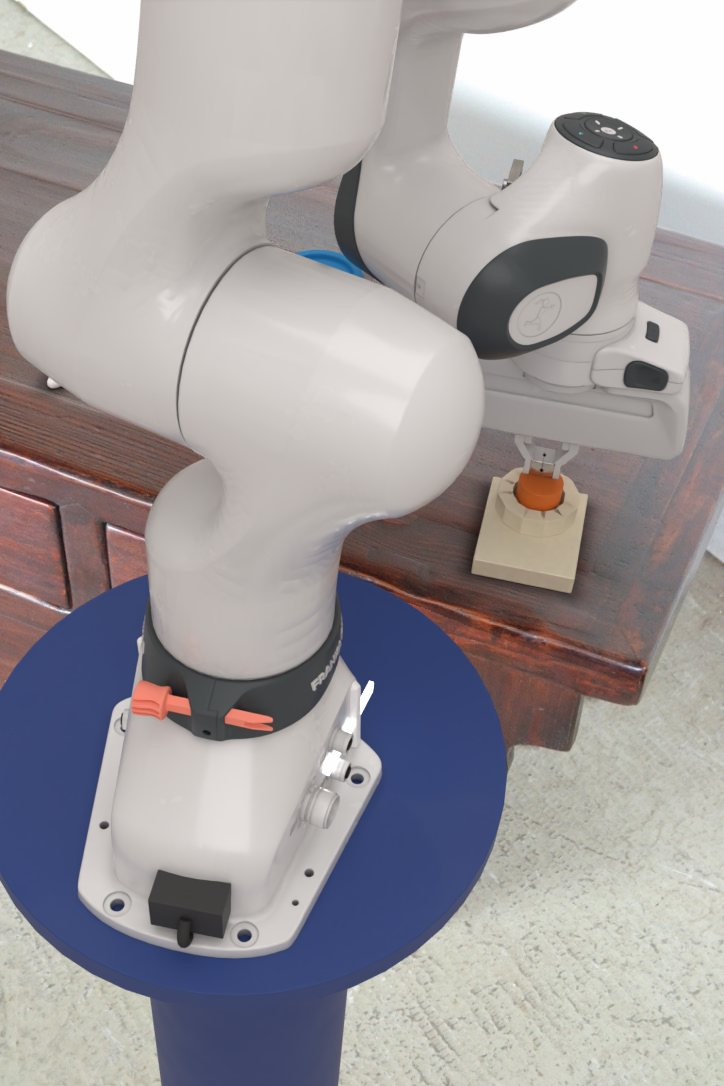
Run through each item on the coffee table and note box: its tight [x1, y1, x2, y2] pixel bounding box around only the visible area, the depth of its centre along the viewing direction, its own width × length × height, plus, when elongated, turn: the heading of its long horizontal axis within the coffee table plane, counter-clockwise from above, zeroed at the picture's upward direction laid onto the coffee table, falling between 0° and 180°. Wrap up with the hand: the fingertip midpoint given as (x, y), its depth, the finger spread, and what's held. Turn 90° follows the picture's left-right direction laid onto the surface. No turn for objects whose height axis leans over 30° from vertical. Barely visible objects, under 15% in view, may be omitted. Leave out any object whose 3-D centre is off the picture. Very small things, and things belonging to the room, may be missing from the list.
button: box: [516, 471, 564, 511], centre depth 108 cm, size 4×4×2 cm
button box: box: [470, 466, 589, 594], centre depth 108 cm, size 10×8×4 cm
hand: (541, 471), depth 107 cm, fingers closed
